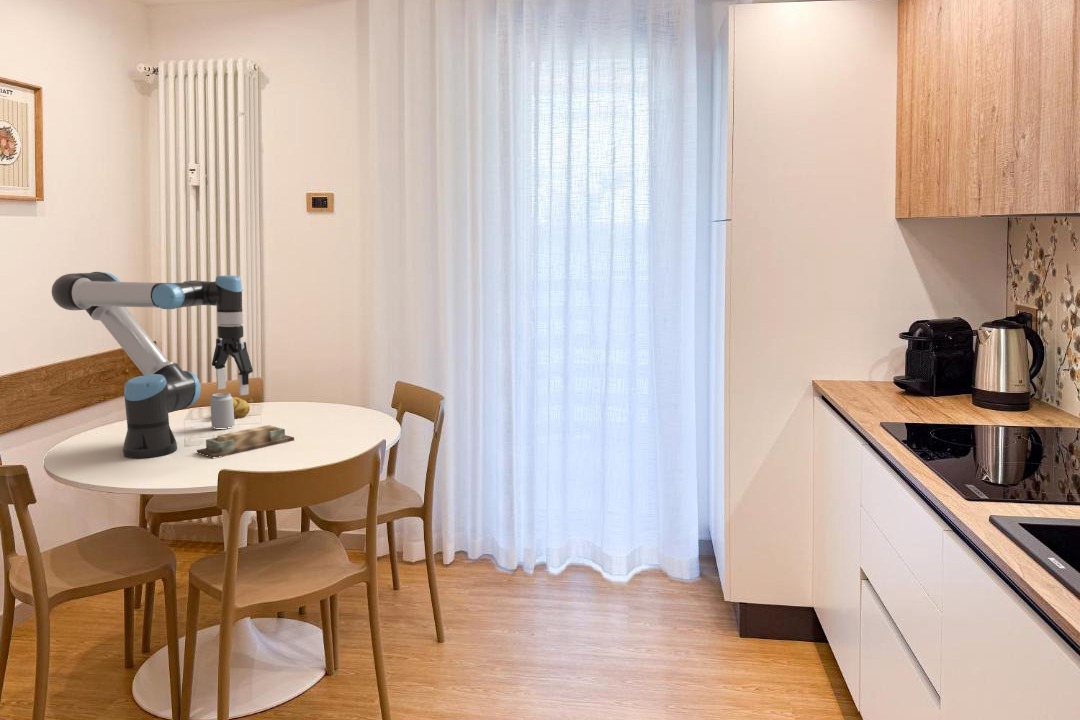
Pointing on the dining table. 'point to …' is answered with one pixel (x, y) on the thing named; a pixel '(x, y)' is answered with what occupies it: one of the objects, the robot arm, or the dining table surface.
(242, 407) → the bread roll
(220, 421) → the can
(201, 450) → the cradle
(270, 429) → the slat
